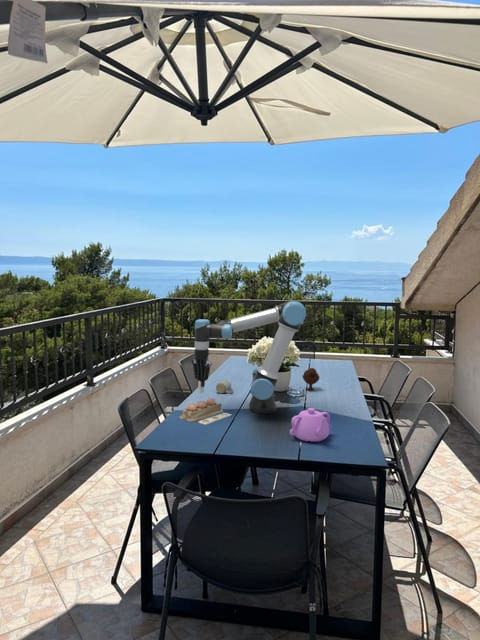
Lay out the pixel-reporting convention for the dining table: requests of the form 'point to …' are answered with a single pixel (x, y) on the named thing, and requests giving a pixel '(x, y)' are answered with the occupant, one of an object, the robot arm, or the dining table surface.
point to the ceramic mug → (224, 387)
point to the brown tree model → (311, 378)
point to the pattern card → (214, 418)
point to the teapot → (310, 425)
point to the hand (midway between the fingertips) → (201, 392)
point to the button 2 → (210, 402)
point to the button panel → (201, 413)
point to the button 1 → (192, 407)
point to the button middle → (201, 404)
